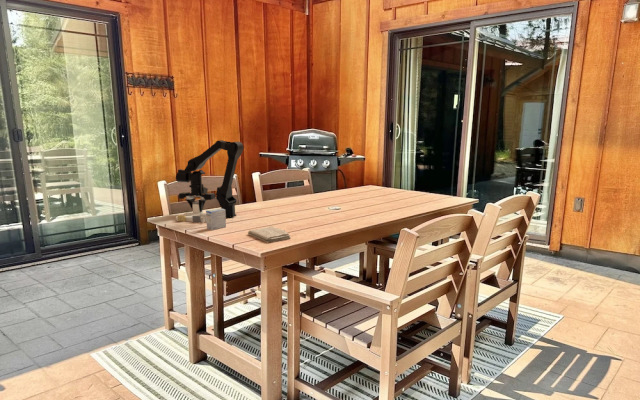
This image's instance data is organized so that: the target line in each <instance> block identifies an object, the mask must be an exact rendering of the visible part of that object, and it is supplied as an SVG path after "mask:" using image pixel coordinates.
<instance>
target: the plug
mask: <svg viewBox="0 0 640 400" xmlns="http://www.w3.org/2000/svg"><path fill="white" fill-rule="evenodd" d="M192 204H193V210H192V213H204V211H202V212H200V208H199V200H195V202H192Z"/></svg>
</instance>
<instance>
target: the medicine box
mask: <svg viewBox="0 0 640 400" xmlns="http://www.w3.org/2000/svg"><path fill="white" fill-rule="evenodd" d="M205 213H206V221H205V222H206V229H207V230H211V231H214V230H218V229H223V228H227V218H226V212H225V209H222V208H221V207H219V208H217V207H216V208H213V209H212V208H211V209H209V210H208V209H207V210H206V211H205Z"/></svg>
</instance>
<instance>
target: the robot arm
mask: <svg viewBox="0 0 640 400" xmlns="http://www.w3.org/2000/svg"><path fill="white" fill-rule="evenodd" d="M244 149H245V148H244V144H243V143H242V142H241V141H227V140H221V139H219V140H217V141H215V143H213V144H212V145H211V146H209V147H208V148H207V149H206V150H205V151H203V152H202V153H201V154H199V155H197V156H195V157H192V158H191V159H189V160H188V161H187V165H186V166H185V169H182V168H181V169H177V172H176V175H175V180H176V182H177V183H190V184H189V188H190V191H182V192H180V193H178V195H177V196H178V198H177V199H179V200H185V201H186V202H187V203H188V204H189V206H190V208H191V210H192V211H193V204H192V202H195V201H196V198H197V199H198V198H199V200H198V201H199V208H200V212H203V209H204V206H205V204H206V201H212V200H215V199H216V200H217V202H218V204H219V206H220V208H222V209H225V212H226V219H228V218H229V219H232V218H234V217H237V214H236V204H237V198H236V197H234V196H233V187H232V185H233V181H234V176H235V171H236V168H237V165H238V160H239V158H240V157H241V156H242V154H243V151H244ZM221 150H223V151H227V152H226V154H227V163H226V166H225V170H224V175H223V180H222V183H221V184H222V185H221V186H218V187H217V188H216V192H215V193H214V192H209V191H208V190H209V189H208V188H207V187H204V184H203V181H202V176H203V175H205V174H206V172H205V171H204V170H203V169H202V168H203V167H204V166H205V165H206V163H207V162H208V161H209V159H211V158H212V157H213V156H215V155H216V154H217V153H218V152H220V151H221Z"/></svg>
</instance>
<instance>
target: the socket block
mask: <svg viewBox="0 0 640 400" xmlns="http://www.w3.org/2000/svg"><path fill="white" fill-rule="evenodd" d="M175 221H177V222H180V223H182V222H183V223H184V222H192V223H205V222H206V212H205V213H204V212H203V213H193V212H184V213H181V214H178V215H177V216H175Z"/></svg>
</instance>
